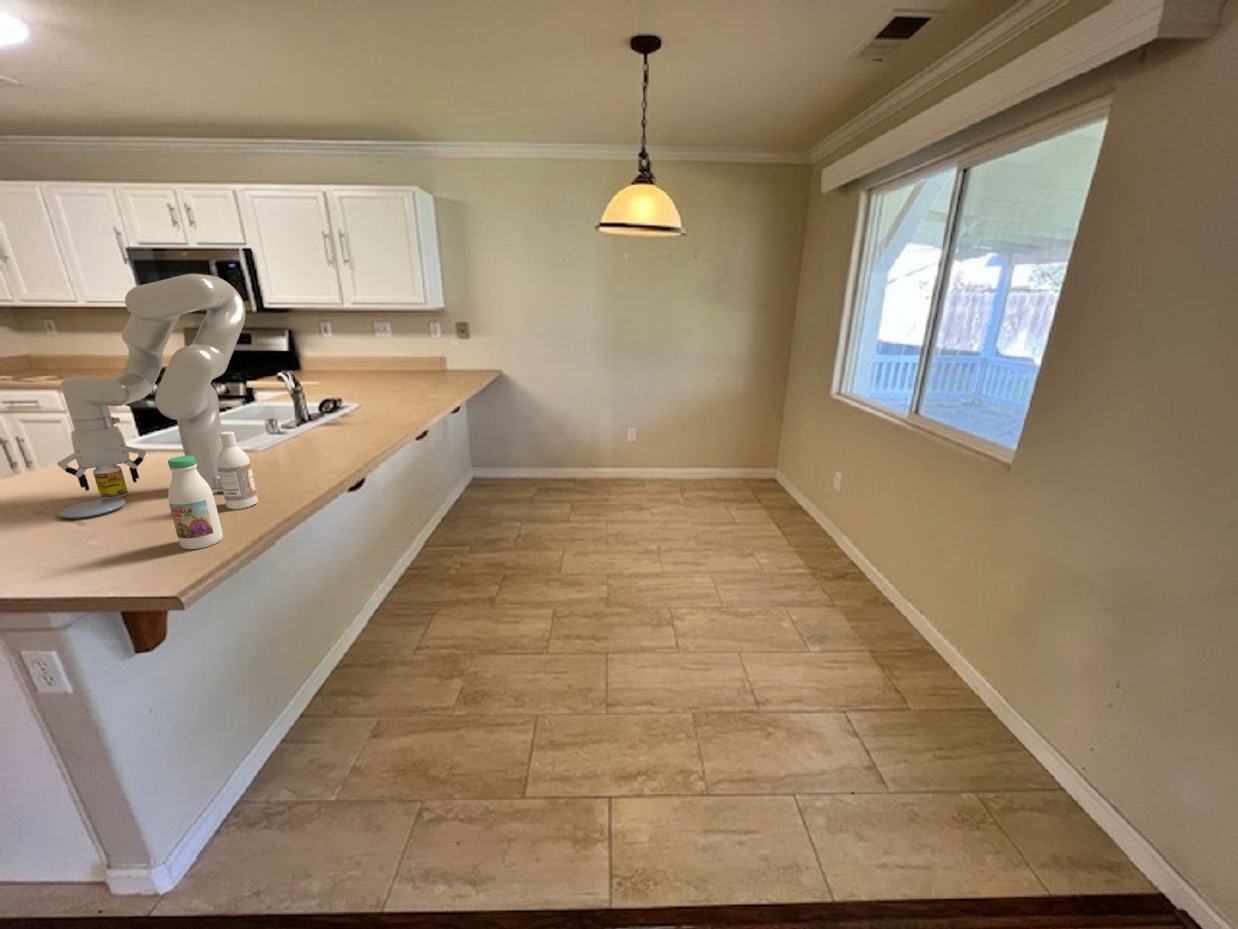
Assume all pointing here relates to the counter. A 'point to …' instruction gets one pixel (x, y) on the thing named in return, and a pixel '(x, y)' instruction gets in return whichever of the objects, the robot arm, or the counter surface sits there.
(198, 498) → the milk bottle
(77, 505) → the dish
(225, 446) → the bath foam
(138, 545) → the counter surface
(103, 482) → the supplement bottle
